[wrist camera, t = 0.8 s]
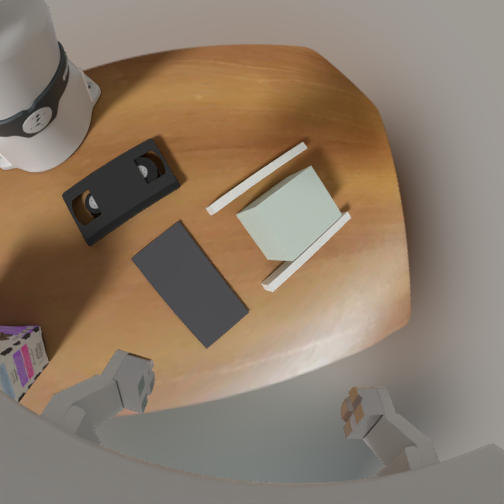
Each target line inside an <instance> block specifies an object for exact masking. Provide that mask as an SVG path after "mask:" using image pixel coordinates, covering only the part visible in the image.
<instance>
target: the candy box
mask: <svg viewBox="0 0 504 504" xmlns="http://www.w3.org/2000/svg"><path fill="white" fill-rule="evenodd" d="M48 364H49V361H48V358H47V353H46V350H45V345H44V340H43V335H42V331H41V327H40V326H0V390H1V391H3V392H4V393H5V394H7V395H8V396H10V397H11V398H13V399H14V400H16V401H17V402H19V401H20V400H21V399H22V397H23V396H24V395H25V393H26V392H27V391H28V389H29V388H30V387H31V385H32V384H33V383H34V381H35V380H36V379H37V377H38V376H39V375H40V374H41V373H42V371H43V370H44V369H45V368H46V366H47V365H48Z"/></svg>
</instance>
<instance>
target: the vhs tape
mask: <svg viewBox="0 0 504 504" xmlns="http://www.w3.org/2000/svg"><path fill="white" fill-rule="evenodd" d="M149 151H153V152H155V153H156V154H157V155H158V156H159V157H160V158H161V160H162V161H163V163H164V166H165V174H164V175H161V174H160V172H159V170H158V169H157V167H156V165H155V164H154V162H153V161H152V160H150V159H148V158H145V157H140V156H141V155H143V154H145V153H147V152H149ZM157 172H158V173H159V175H160V177H159V178H157ZM172 173H173V172H172V171H171V169H170V167H169V166H168V164H167V163H166V161H165V159H164V158H163V156H162V154H161V152H160V151H159V149H158V147H157V146H156V144H155V142H154V141H153V139H148V140H146V141H145V142H143V143H141V144H139V145H137V146H136V147H134V148H132V149H130V150H129V151H127V152H125V153H123V154H122V155H120V156H118V157H117V158H115V159H113V160H112V161H110V162H109V163H107V164H105V165H104V166H102V167H101V168H99V169H98V170H96V171H94V172H93V173H91V174H90V175H88V176H87V177H85V178H84V179H82V180H81V181H80V182H78V183H77V184H75V185H74V186H72V187H71V188H70V189H68V190H67V191H65V192H64V193H63V195H62V197H63V199H64V201H65V203H66V205H67V207H68V209H69V211H70V213H71V215H72V217H73V219H74V220H75V222H76V224H77V226H78V228H79V230H80V232H81V233H82V235H83V237H84V239H85V241H86V242H87V244H88V246H92V245H93V244H95V243H96V242H97V241H99V240H100V239H102V238H103V237H104V236H106V235H107V234H109V233H110V232H111V231H113V230H114V229H116V228H117V227H119V226H120V225H122V224H123V223H125V222H126V221H128V220H129V219H131V218H132V217H134V216H135V215H137V214H138V213H140V212H141V211H143V210H144V209H146V208H147V207H149V206H151V205H152V204H154V203H155V202H157V201H158V200H160V199H162V198H163V197H165V196H167V195H168V194H170V193H172V192H173V191H175V190H176V189H178V188H179V187H180V184H179V182H178V181H177V179H176V177H175V176H174V175H173V174H172ZM86 190H89V191H90V193H89V194H88V195H87V197H86V199H85V206H86V209H87V210H88V211H89V212H90V213H92V214H100V213H101V215H100V216H99V217H97V218H96V219H94V220H93V221H91V222H90V223H89V224H87V225H83V224H81V223H80V222H79V221H78V220H77V218H76V217H75V215H74V212H73V209H72V201H73V199H75V198H76V197H77V196H79V195H80V194H82V193H83V192H84V191H86ZM92 216H93V215H92ZM93 217H94V216H93ZM94 218H95V217H94Z"/></svg>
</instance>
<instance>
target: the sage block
mask: <svg viewBox="0 0 504 504" xmlns="http://www.w3.org/2000/svg"><path fill="white" fill-rule="evenodd" d="M236 216H237V217H238V219H239V220H240V221H241V223H242V224H243V226H244V227H245V228H246V230H247V231H248V232H249V234H250V235H251V237H252V238H253V239H254V241H255V242H256V244H257V245H258V246H259V248H260V249H261V251H262V252H263V253H264V255H265V256H266V258H267V259H268V260H282V261H294V260H295V259H296V258H297V257H298V256H299V255H300V254H301V253H302V252H303V251H305V250H306V249H307V248H308V247H309V246H310V245H311V244H312V243H313V242H314V241H315V240H316V239H317V238H319V237H320V236H321V235H322V234H323V233H324V232H325V231H326V230H327V229H328V228H329V227H330V226H331V225H332V224H333V223H335V222H336V221H337V220H338V219H339V218H340V217H341V216H342V214H341V213H340V211H339V209H338V208H337V206H336V204H335V203H334V201H333V199H332V198H331V196H330V194H329V193H328V191H327V190H326V188H325V186H324V185H323V183H322V182H321V180H320V178H319V177H318V175H317V174H316V172H315V171H314V169H313V168H312V166H309V167H307V168H305V169H303V170H301V171H299V172H297V173H295V174H293V175H290V176H288V177H286V178H285V179H283V180H282V181H280V182H279V183H278V184H276V185H275V186H274V187H272V188H271V189H270V190H268V191H267V192H265V193H264V194H263V195H261V196H260V197H259V198H257V199H256V200H255V201H253V202H252V203H251V204H249V205H248V206H247V207H245V208H244V209H243V210H241V211H240V212H239V213H237V214H236Z"/></svg>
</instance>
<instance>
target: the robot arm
mask: <svg viewBox="0 0 504 504" xmlns="http://www.w3.org/2000/svg"><path fill="white" fill-rule="evenodd" d="M89 87H90V89H89ZM100 94H101V90H100V88H99V86H98V85H97V84H96V83H95V82H93V81H92V80H91V79H90V78H89V77H88V76H87V75H85V74H84V73H83V71H82V69H81V68H77V67H76V66H75V65H74V64H73V63H72V62H70V61H69V60H68V58H67V55H66V52H65V51H64V49H63V46H62V45H61V44H60V42H59V41H57V38H56V34H55V31H54V27H53V22H52V18H51V14H50V10H49V7H48V5H47V4H46V2H45V1H44V0H0V168H1V169H3V170H8V169H13V168H19V169H22V170H25V171H29V172H42V171H46V170H49V169H51V168H54V167H56V166H57V165H59V164H61V163H62V162H64V161H65V160H66V159H67V158H69V157H70V156H71V155H72V154H73V153H74V152H75V151H76V149H77V148H78V147H79V145H80V144H81V143H82V141H83V139H84V138H85V136H86V134H87V131H88V128H89V125H90V121H91V115H92V109H93V107H94V105H95V103H96V102H97V100H98V98H99V96H100ZM153 366H154V364H153V360H152V359H149V358H146V357H142V356H139V355H136V354H132V353H129V352H126V351H123V350H119V349H118V350H117V351H115V353H114V355H113V356H112V358H111V359H110V361H109V363H108V364H107V366H106V368H105V369H104V371H103V373H102V374H101V375H95V376H93V377H91V378H89V379H87V380H85V381H83V382H80V383H78V384H76V385H74V386H72V387H70V388H67V389H65V390H63V391H61V392H58V393H56V394H54V395H53V397H52V398H51V400H50V401H49V403H48V405H47V406H46V408H45V409H44V411H43V412H42V414H41V416H40V415H38V414H36V413H35V412H33V411H31V410H30V409H28V408H26V407H25V406H23V405H22V404H20V403H19V402H17V401H16V400H14V399H13V398H11V397H10V396H8V395H7V394H5V393H4V392H3V391H1V390H0V504H504V450H503V449H502V448H500V447H499V446H497V445H495V444H488V445H485V446H483V447H481V448H478V449H476V450H473V451H471V452H468V453H465V454H463V455H460V456H458V457H454V458H452V459H449V460H445V461H442V462H439V460H438V456H437V453H436V451H435V448H434V445H433V443H432V441H431V440H430V439H428V438H427V437H426V436H425V435H424V434H422V433H421V432H420V431H419V430H417V429H416V428H415V427H414V426H413V425H411V424H410V423H409V422H408V421H407V420H405V419H404V418H403V417H402V416H401V415H399V414H396V412H395V410H394V407H393V404H392V402H391V399H390V397H389V394H388V391H387V389H386V388H385V387H353V388H352V389H351V390H350V392H349V395H350V396H349V397H347V398H346V399H345V400H344V402H343V403H342V407H341V417H342V419H343V421H345V423H346V424H345V425H344V432H345V437H346V439H362V438H364V439H363V440H364V441H365V442H366V444H367V445H368V446H369V447H370V448H371V449H372V451H373V452H374V453H375V454H376V455H377V456H378V458H379V459H380V460H381V461H382V462H383V464H384V465H385V467H384V468H383V469H382V470H380V471H379V472H378V473H377V477H374V478H366V479H359V480H351V481H339V482H325V483H268V482H252V481H243V480H233V479H225V478H219V477H212V476H206V475H201V474H196V473H191V472H186V471H182V470H177V469H173V468H169V467H165V466H161V465H158V464H154V463H150V462H147V461H144V460H140V459H137V458H134V457H131V456H128V455H125V454H122V453H119V452H117V451H114V450H112V449H109V448H106V447H103V446H101V445H100V440H99V438H98V436H97V435H96V433H95V431H94V429H96V428H97V427H99V426H100V425H102V424H103V423H105V422H106V421H108V420H109V419H110V418H112V417H113V416H115V415H116V414H118V413H119V412H120V411H122V410H123V409H124V408H125V409H128V410H132V411H135V412H139V413H142V414H143V412H144V410H145V407H146V405H147V402H148V400H147V396H148V395H150V394H151V392H152V390H153V386H154V381H155V374H154V372H153V371H152V368H153Z"/></svg>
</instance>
